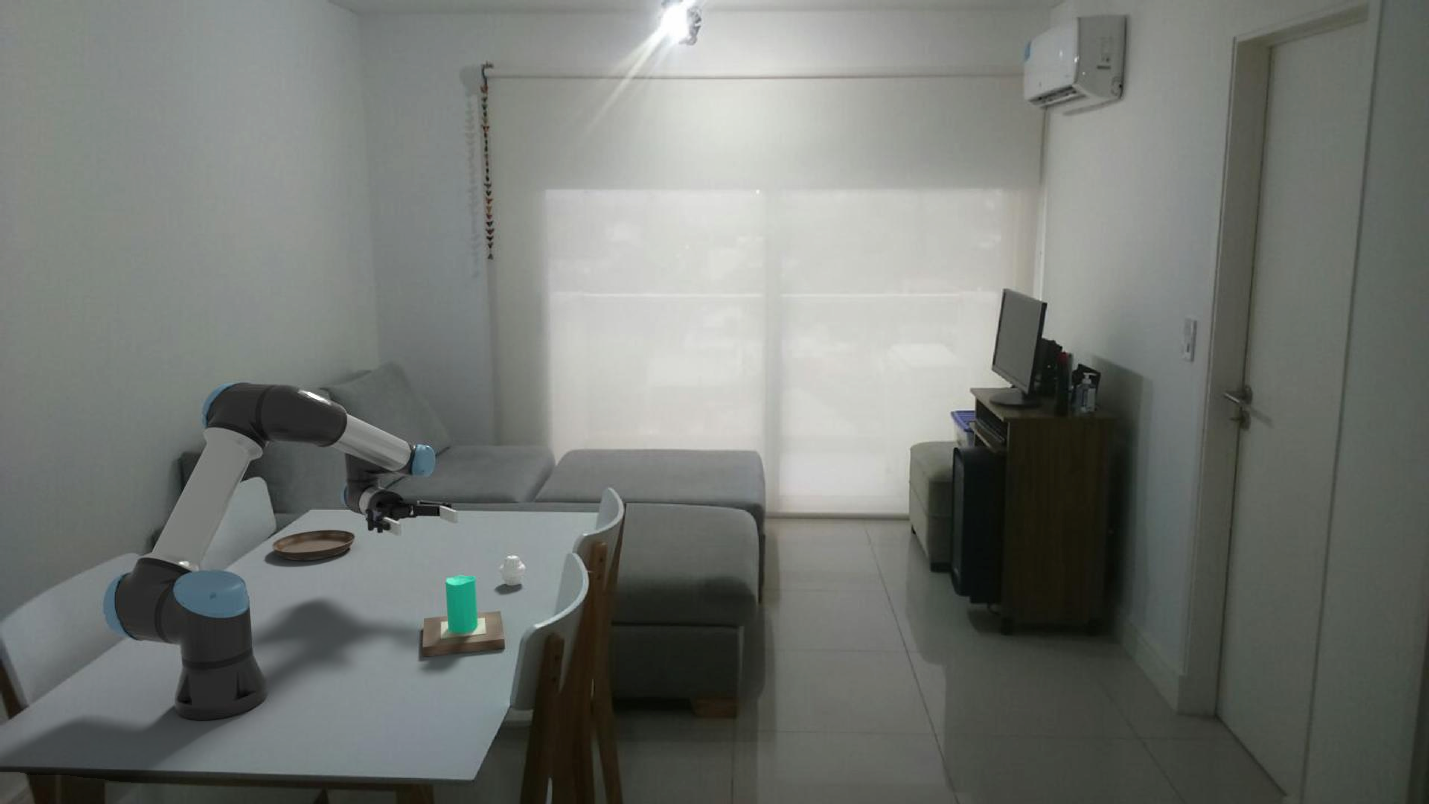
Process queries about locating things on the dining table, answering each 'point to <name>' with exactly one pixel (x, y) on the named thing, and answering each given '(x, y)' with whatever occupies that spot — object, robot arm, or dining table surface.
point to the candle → (461, 603)
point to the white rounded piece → (512, 570)
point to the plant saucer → (313, 544)
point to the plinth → (463, 635)
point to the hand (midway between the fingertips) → (428, 523)
